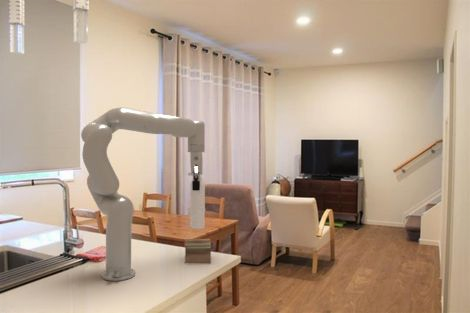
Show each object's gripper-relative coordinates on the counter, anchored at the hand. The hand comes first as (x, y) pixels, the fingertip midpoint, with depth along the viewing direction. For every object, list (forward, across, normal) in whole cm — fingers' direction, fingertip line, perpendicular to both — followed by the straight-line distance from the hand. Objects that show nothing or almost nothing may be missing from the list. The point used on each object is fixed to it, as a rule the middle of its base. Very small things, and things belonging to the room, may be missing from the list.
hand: (195, 188), depth 170 cm
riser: (+32, 0, -1) cm, 32 cm away
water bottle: (+18, 0, 0) cm, 18 cm away
